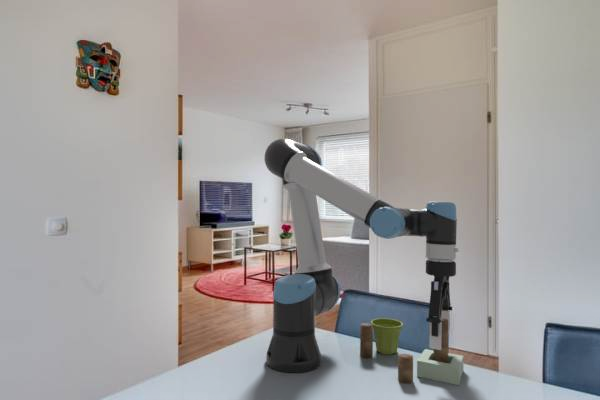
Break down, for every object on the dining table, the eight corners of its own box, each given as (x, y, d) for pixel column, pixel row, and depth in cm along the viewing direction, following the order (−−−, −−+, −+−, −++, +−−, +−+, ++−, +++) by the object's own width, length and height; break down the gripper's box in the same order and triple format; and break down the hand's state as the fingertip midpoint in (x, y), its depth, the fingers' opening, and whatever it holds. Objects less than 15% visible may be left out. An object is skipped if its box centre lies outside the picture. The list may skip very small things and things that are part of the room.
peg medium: (358, 356, 112) (358, 325, 113) (362, 353, 115) (362, 322, 116) (370, 359, 111) (370, 327, 111) (374, 355, 114) (374, 324, 114)
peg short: (396, 381, 96) (396, 357, 96) (400, 376, 99) (400, 352, 99) (411, 384, 94) (411, 360, 94) (414, 379, 97) (414, 355, 98)
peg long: (432, 374, 100) (432, 320, 101) (434, 369, 104) (434, 317, 104) (446, 377, 99) (447, 322, 99) (449, 372, 102) (449, 319, 102)
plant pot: (403, 358, 112) (403, 327, 112) (370, 355, 114) (370, 325, 114) (401, 347, 121) (401, 319, 121) (371, 345, 123) (371, 317, 123)
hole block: (417, 376, 99) (417, 360, 99) (424, 363, 108) (424, 349, 108) (458, 385, 94) (458, 368, 94) (463, 370, 103) (463, 355, 103)
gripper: (449, 266, 89) (448, 359, 89) (461, 256, 111) (460, 331, 111) (416, 263, 93) (414, 352, 92) (434, 254, 115) (433, 326, 114)
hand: (439, 341), depth 102 cm, fingers open, 13 cm apart
